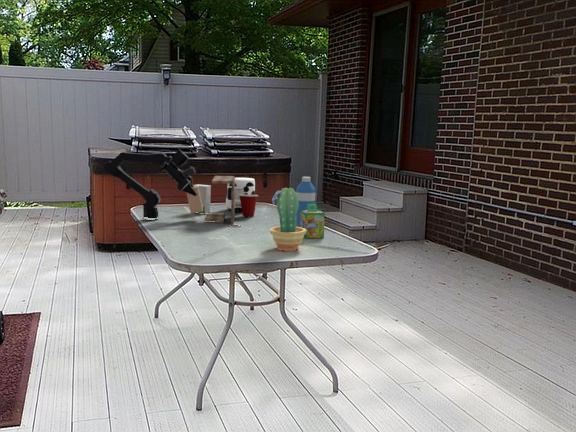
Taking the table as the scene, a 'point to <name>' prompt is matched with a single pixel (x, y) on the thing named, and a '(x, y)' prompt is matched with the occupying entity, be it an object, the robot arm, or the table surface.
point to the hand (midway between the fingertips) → (196, 194)
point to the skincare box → (205, 197)
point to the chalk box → (312, 222)
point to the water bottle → (305, 196)
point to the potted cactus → (287, 221)
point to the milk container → (240, 191)
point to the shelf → (231, 181)
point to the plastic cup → (248, 204)
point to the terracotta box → (195, 201)
